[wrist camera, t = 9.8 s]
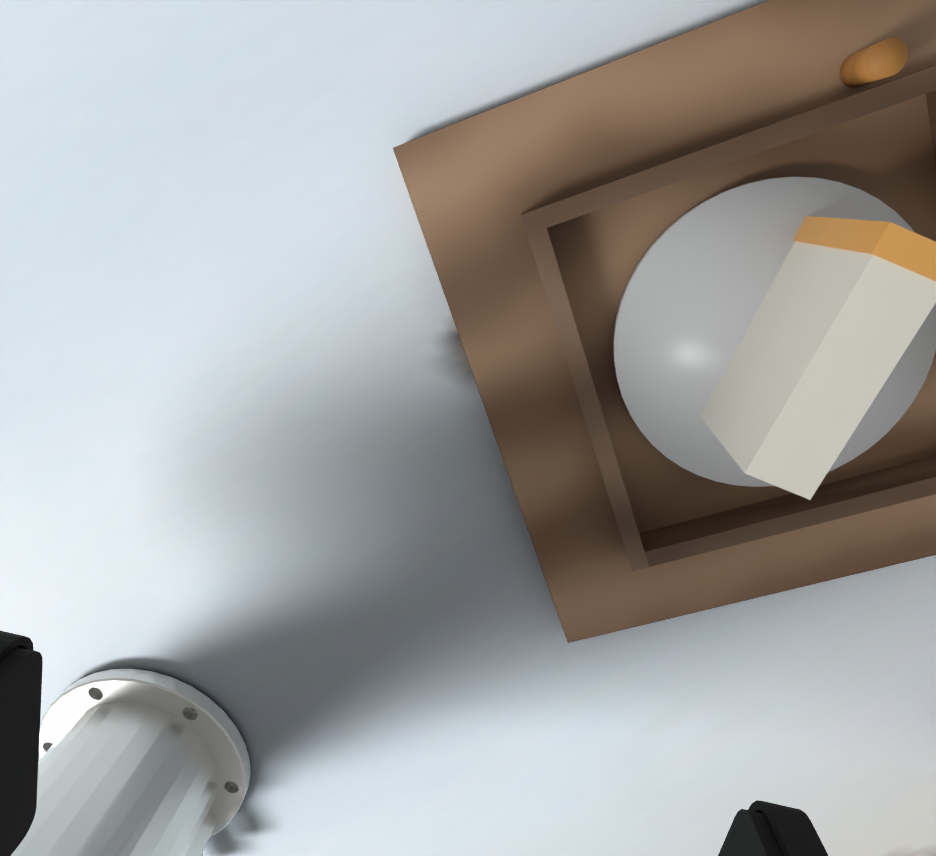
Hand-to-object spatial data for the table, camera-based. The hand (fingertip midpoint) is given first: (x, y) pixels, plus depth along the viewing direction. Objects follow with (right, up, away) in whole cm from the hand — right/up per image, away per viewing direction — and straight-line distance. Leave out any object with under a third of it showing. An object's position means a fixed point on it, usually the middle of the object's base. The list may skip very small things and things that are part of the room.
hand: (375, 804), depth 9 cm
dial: (+14, +9, +20) cm, 26 cm away
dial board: (+14, +9, +21) cm, 27 cm away
